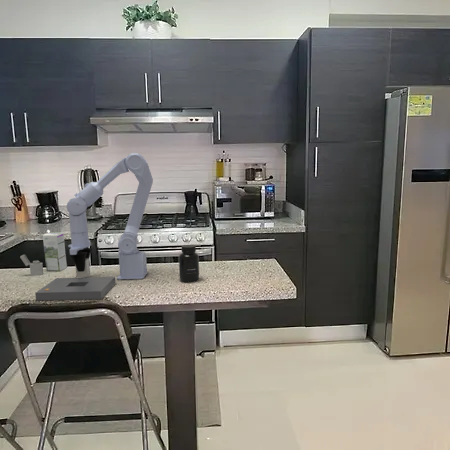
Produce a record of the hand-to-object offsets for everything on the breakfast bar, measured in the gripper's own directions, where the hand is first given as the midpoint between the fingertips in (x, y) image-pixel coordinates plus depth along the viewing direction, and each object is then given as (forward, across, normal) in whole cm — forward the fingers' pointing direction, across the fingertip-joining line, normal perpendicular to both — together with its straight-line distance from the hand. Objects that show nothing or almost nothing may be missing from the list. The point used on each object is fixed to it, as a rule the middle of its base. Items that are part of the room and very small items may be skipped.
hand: (82, 270), depth 139 cm
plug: (+2, 0, 0) cm, 2 cm away
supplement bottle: (+4, +3, +38) cm, 38 cm away
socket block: (+4, +13, +3) cm, 14 cm away
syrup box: (+4, -15, -16) cm, 22 cm away
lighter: (+4, -8, -22) cm, 24 cm away
